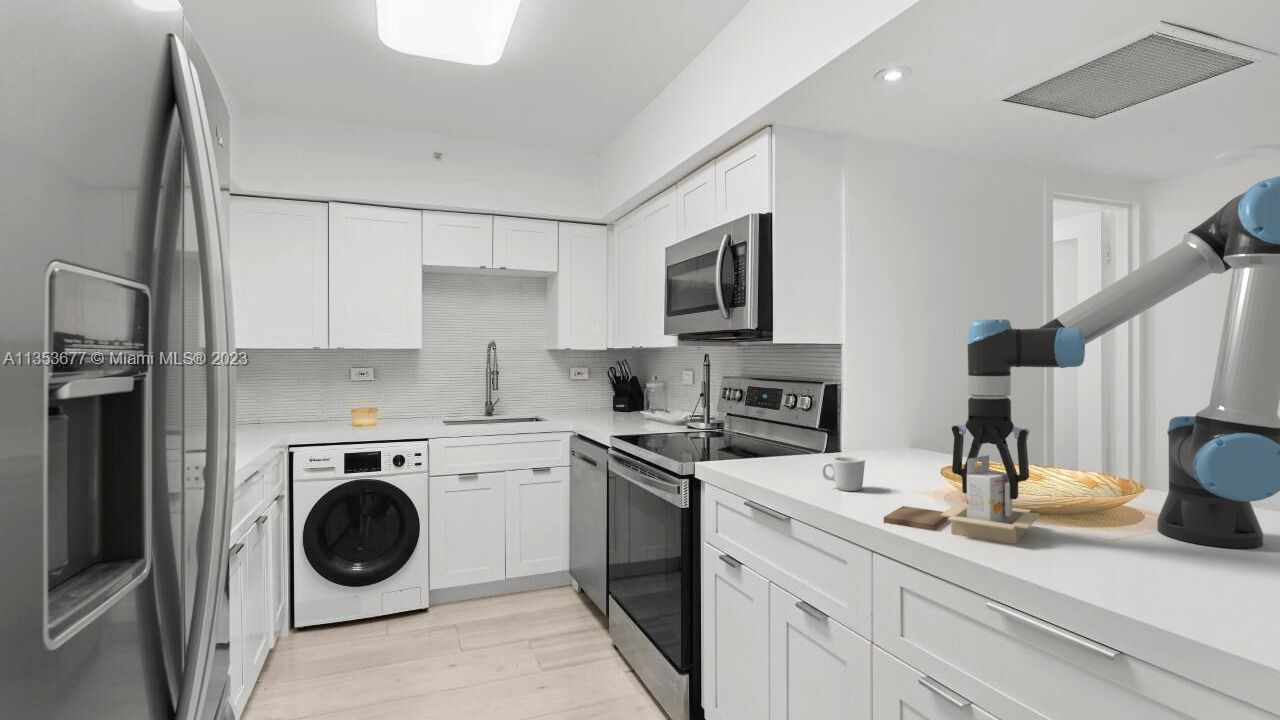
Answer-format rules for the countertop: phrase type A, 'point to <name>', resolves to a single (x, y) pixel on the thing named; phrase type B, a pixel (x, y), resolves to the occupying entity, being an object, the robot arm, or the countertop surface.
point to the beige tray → (990, 525)
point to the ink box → (986, 492)
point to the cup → (846, 472)
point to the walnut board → (916, 518)
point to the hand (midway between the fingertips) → (989, 512)
